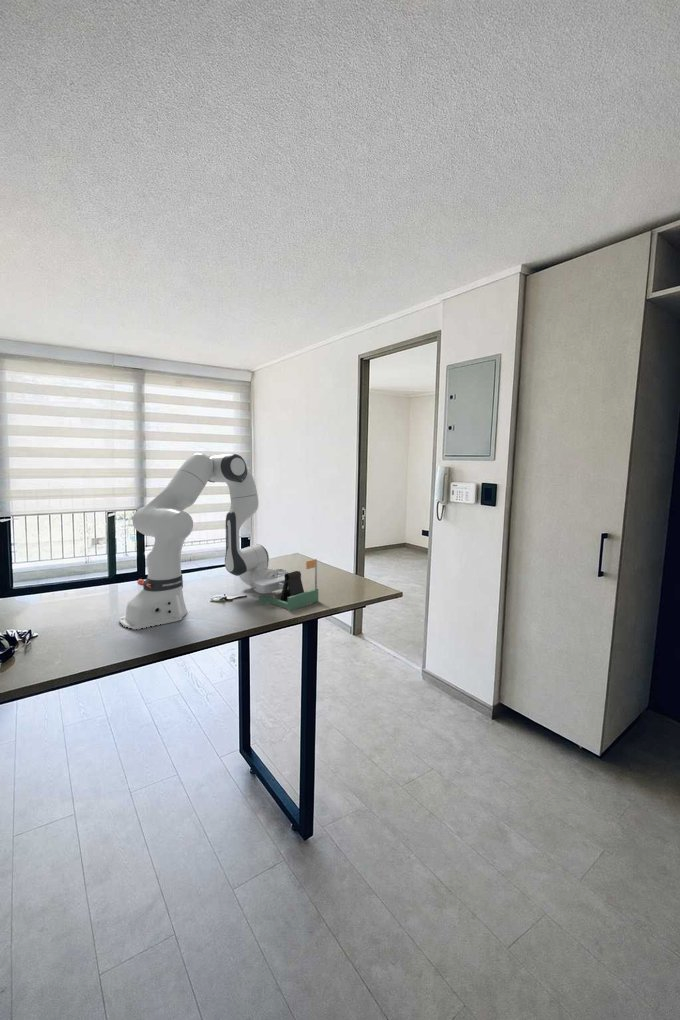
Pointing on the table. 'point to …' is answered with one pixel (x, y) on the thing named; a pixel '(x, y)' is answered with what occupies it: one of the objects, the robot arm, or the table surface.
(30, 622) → the table surface
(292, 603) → the putting pocket
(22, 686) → the table surface
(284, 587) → the door stopper
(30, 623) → the table surface
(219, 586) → the table surface
